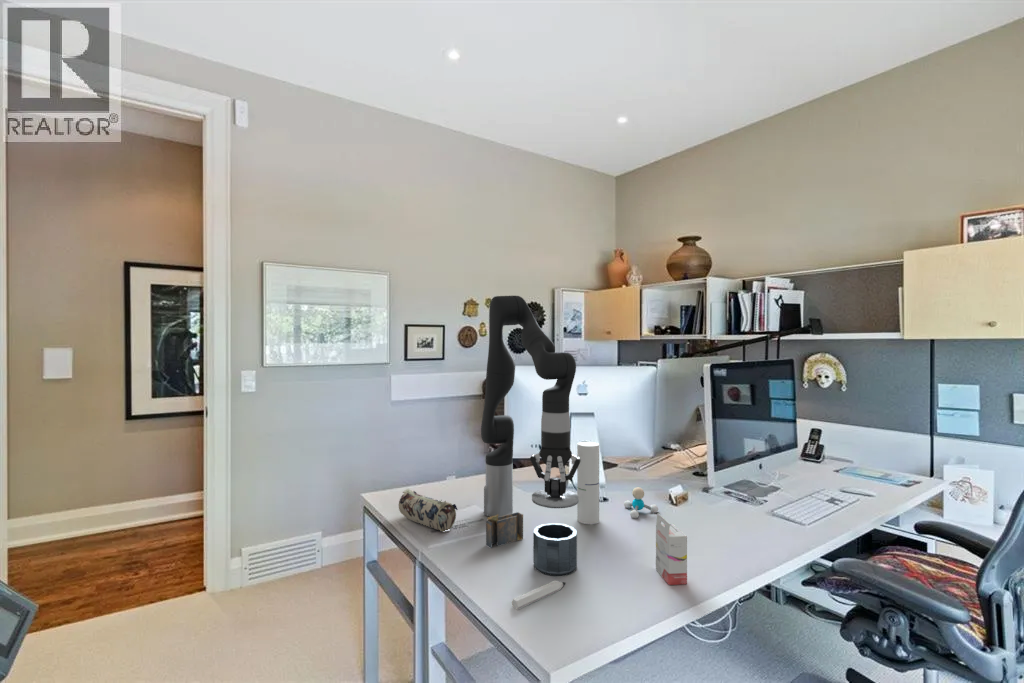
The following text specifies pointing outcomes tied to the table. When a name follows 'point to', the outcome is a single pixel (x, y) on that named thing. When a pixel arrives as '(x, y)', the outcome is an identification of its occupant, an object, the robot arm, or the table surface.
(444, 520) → the pencil case
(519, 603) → the marker
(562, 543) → the pot
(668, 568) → the ink cartridge box
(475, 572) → the table surface
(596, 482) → the cylindrical container
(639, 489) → the molecule model
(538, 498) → the lid
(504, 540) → the weathered rectangular holder
